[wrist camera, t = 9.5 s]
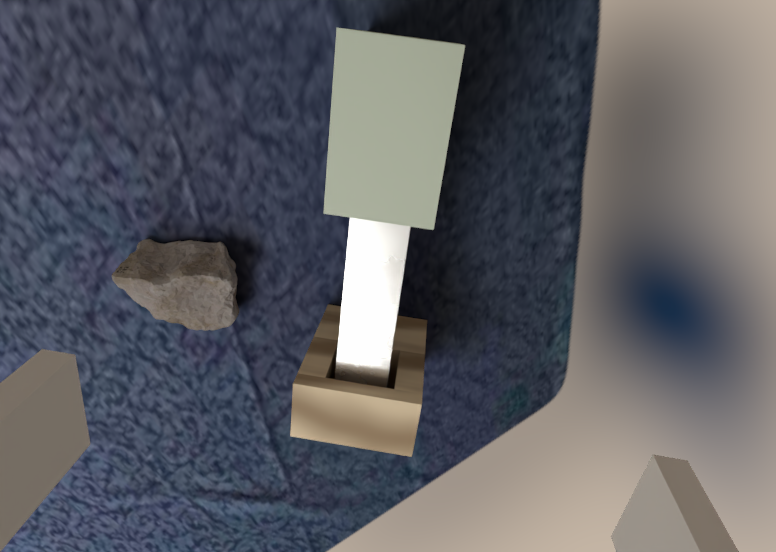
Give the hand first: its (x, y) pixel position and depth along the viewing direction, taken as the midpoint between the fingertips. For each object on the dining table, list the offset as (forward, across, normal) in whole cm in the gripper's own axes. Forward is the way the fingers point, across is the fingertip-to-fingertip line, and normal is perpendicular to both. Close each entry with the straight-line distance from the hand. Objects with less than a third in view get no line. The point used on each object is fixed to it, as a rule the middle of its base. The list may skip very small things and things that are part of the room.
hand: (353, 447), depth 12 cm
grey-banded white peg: (+25, -1, -8) cm, 26 cm away
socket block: (+31, -1, -17) cm, 35 cm away
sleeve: (+31, -1, +3) cm, 31 cm away
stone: (+31, -18, -14) cm, 38 cm away
